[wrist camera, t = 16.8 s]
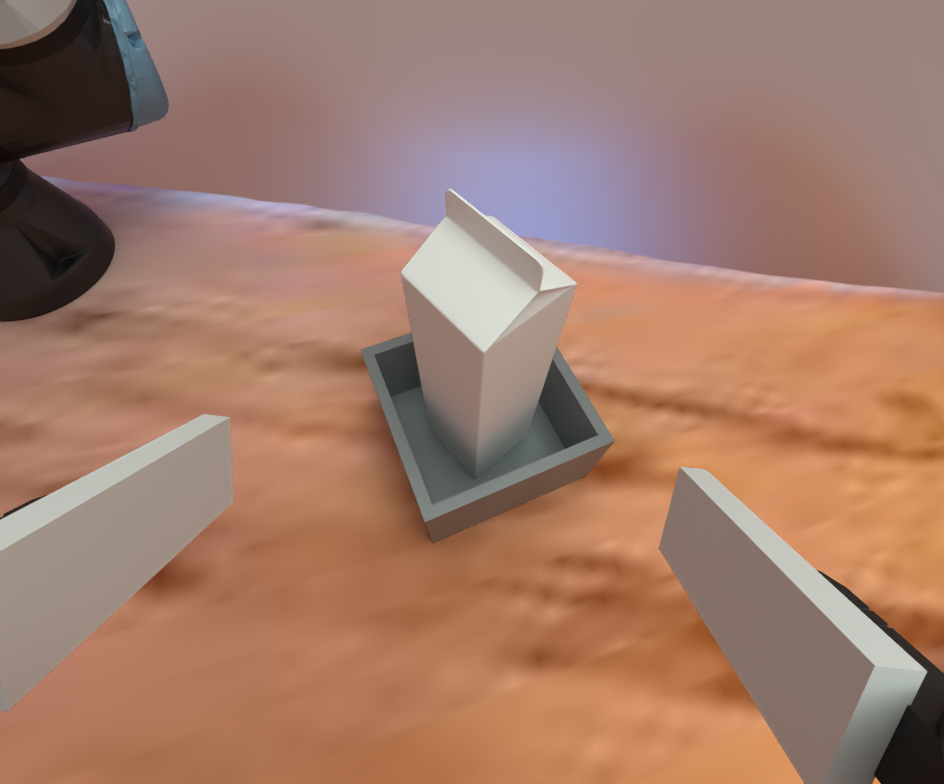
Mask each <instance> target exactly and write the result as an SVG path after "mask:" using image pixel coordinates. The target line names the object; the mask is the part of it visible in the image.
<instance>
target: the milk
mask: <svg viewBox="0 0 944 784" xmlns="http://www.w3.org/2000/svg"><path fill="white" fill-rule="evenodd" d="M445 196H446V216H445V217H444V219H443V220H442V221H441V222H440V224H439V225H438V226H437V227H436V229H435V230H434V231H433V232H432V234H431V235H430V236H429V237H428V239H427V240H426V241H425V242H424V244H423V245H422V246H421V247H420V249H419V250H418V251H417V252H416V253H415V255H414V256H413V257H412V258H411V260H410V261H409V262H408V263H407V265H406V266H405V267H404V269H403V270H402V272H401V278H402V283H403V289H404V294H405V299H406V305H407V310H408V316H409V321H410V327H411V332H412V337H413V343H414V348H415V354H416V359H417V365H418V370H419V375H420V381H421V386H422V392H423V397H424V403H425V408H426V413H427V419H428V424H429V428H430V430H431V431H432V432H433V433H434V434H435V435H436V436H437V438H438V439H439V440H440V441H441V442H442V443H443V444H444V445H445V447H446V448H447V449H448V450H449V451H450V452H451V453H452V454H453V456H454V457H455V458H456V459H457V460H458V461H459V462H460V463H461V464H462V466H463V467H464V468H465V469H466V470H467V471H468V472H469V473H470V475H471V476H472V477H473V478H474V479H476V478H477V477H479V476H480V475H481V474H482V473H483V472H484V471H486V470H487V469H488V468H489V467H490V466H492V465H493V464H494V463H495V462H496V461H497V460H499V459H500V458H501V457H502V456H503V455H504V454H506V453H507V452H508V451H509V450H510V449H511V448H513V447H514V446H515V445H516V444H517V443H518V442H520V441H521V440H522V439H523V438H524V437H526V436H527V434H528V431H529V428H530V425H531V422H532V419H533V416H534V413H535V410H536V407H537V404H538V401H539V398H540V395H541V392H542V389H543V386H544V383H545V380H546V377H547V374H548V371H549V368H550V365H551V362H552V359H553V356H554V353H555V350H556V347H557V344H558V341H559V338H560V335H561V332H562V329H563V326H564V323H565V320H566V317H567V314H568V311H569V308H570V304H571V301H572V298H573V295H574V292H575V289H576V286H577V283H576V282H575V281H574V280H572V279H571V278H570V277H569V276H567V275H566V274H565V273H564V272H562V271H561V270H560V269H559V268H557V267H556V266H555V265H554V264H552V263H551V262H550V261H548V260H547V259H546V258H545V257H543V256H542V255H541V254H540V253H538V252H537V251H536V250H535V249H533V248H532V247H531V246H530V245H528V244H527V243H526V242H525V241H523V240H522V239H521V238H520V237H518V236H517V235H516V234H514V233H513V232H512V231H511V230H509V229H508V228H507V227H506V226H504V225H503V224H502V223H501V222H499V221H498V220H497V219H495V218H494V217H493V216H485V215H483V214H482V213H481V212H480V211H478V210H477V209H476V208H475V207H473V206H472V205H471V204H470V203H468V202H467V201H466V200H465V199H463V198H462V197H461V196H459V195H458V194H457V193H456V192H455V191H453V190H452V189H448V190H446V194H445Z"/></svg>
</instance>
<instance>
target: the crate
mask: <svg viewBox="0 0 944 784" xmlns="http://www.w3.org/2000/svg"><path fill="white" fill-rule="evenodd" d="M361 352H362V355H363V358H364V360H365V363H366V366H367V368H368V371H369V374H370V377H371V379H372V382H373V385H374V387H375V390H376V393H377V395H378V398H379V401H380V403H381V406H382V409H383V411H384V414H385V417H386V420H387V422H388V425H389V428H390V430H391V433H392V436H393V438H394V441H395V444H396V446H397V449H398V452H399V454H400V457H401V460H402V463H403V465H404V468H405V471H406V473H407V476H408V479H409V481H410V484H411V487H412V489H413V492H414V495H415V497H416V500H417V503H418V506H419V508H420V511H421V514H422V516H423V519H424V522H425V524H426V527H427V529H428V532H429V534H430V537H431V539H432V542H433V543H435V542H437V541H439V540H441V539H444V538H446V537H448V536H450V535H453V534H455V533H457V532H460V531H462V530H464V529H466V528H469V527H471V526H473V525H476V524H478V523H480V522H482V521H485V520H487V519H489V518H491V517H494V516H496V515H498V514H501V513H503V512H505V511H507V510H510V509H512V508H514V507H516V506H519V505H521V504H523V503H526V502H528V501H530V500H532V499H535V498H537V497H539V496H541V495H544V494H546V493H548V492H551V491H553V490H555V489H557V488H560V487H562V486H564V485H566V484H569V483H571V482H573V481H576V480H578V479H580V478H582V477H585V476H586V475H587V474H588V473H589V472H590V470H591V469H592V468H593V467H594V465H595V464H596V463H597V462H598V461H599V459H600V458H601V457H602V456H603V455H604V453H605V452H606V451H607V450H608V449H609V447H610V446H611V445H612V444H613V442H614V441H615V440H614V439H613V437H612V436H611V434H610V432H609V431H608V429H607V427H606V426H605V424H604V423H603V421H602V419H601V418H600V416H599V415H598V413H597V411H596V410H595V408H594V406H593V405H592V403H591V402H590V400H589V398H588V397H587V395H586V393H585V392H584V390H583V389H582V387H581V385H580V384H579V382H578V380H577V379H576V377H575V376H574V374H573V372H572V371H571V369H570V367H569V366H568V364H567V363H566V361H565V359H564V358H563V356H562V355H561V353H560V351H559V350H558V348H557V347H556V350H555V353H554V356H553V359H552V362H551V365H550V368H549V371H548V374H547V377H546V380H545V383H544V386H543V389H542V392H541V395H540V398H539V401H538V404H537V407H536V410H535V413H534V416H533V419H532V422H531V425H530V428H529V431H528V434H527V436H526V437H524V438H523V439H522V440H521V441H520V442H518V443H517V444H516V445H515V446H514V447H513V448H511V449H510V450H509V451H508V452H507V453H506V454H504V455H503V456H502V457H501V458H500V459H499V460H497V461H496V462H495V463H494V464H493V465H492V466H490V467H489V468H488V469H487V470H486V471H484V472H483V473H482V474H481V475H480V476H479V477H477V478H476V479H474V478H473V477H472V476H471V475H470V473H469V472H468V471H467V470H466V469H465V468H464V467H463V466H462V464H461V463H460V462H459V461H458V460H457V459H456V458H455V457H454V456H453V454H452V453H451V452H450V451H449V450H448V449H447V448H446V447H445V445H444V444H443V443H442V442H441V441H440V440H439V439H438V438H437V436H436V435H435V434H434V433H433V432H432V431H431V430H430V428H429V424H428V419H427V413H426V408H425V403H424V397H423V392H422V386H421V381H420V375H419V370H418V365H417V359H416V354H415V348H414V343H413V337H412V333H409V334H406V335H403V336H400V337H397V338H394V339H391V340H388V341H385V342H382V343H379V344H376V345H373V346H370V347H368V348H365V349H362V350H361Z"/></svg>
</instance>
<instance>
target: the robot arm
mask: <svg viewBox="0 0 944 784" xmlns="http://www.w3.org/2000/svg"><path fill="white" fill-rule="evenodd" d="M168 107H169V104H168V98H167V95H166V92H165V89H164V87H163V84H162V81H161V79H160V76H159V74H158V72H157V69H156V67H155V65H154V62H153V60H152V58H151V56H150V53H149V51H148V49H147V47H146V45H145V43H144V41H143V40H142V37H141V34H140V32H139V29H138V27H137V25H136V22H135V20H134V17H133V15H132V13H131V11H130V9H129V7H128V4H127V2H126V0H0V321H9V320H18V319H24V318H29V317H33V316H37V315H40V314H43V313H46V312H49V311H51V310H54V309H56V308H58V307H60V306H62V305H64V304H66V303H68V302H70V301H71V300H73V299H75V298H76V297H78V296H79V295H81V294H82V293H83V292H85V291H86V290H87V289H88V288H90V287H91V286H92V285H93V284H94V283H95V282H96V281H97V280H98V279H99V278H100V277H101V275H102V274H103V273H104V271H105V270H106V269H107V267H108V265H109V263H110V261H111V259H112V256H113V252H114V238H113V235H112V233H111V231H110V229H109V228H108V227H107V226H106V225H105V224H104V222H103V221H102V220H101V219H100V218H99V217H98V216H97V215H96V214H95V213H94V212H93V211H92V210H91V209H90V208H89V207H87V206H86V205H84V204H83V203H81V202H79V201H78V200H76V199H75V198H73V197H72V196H70V195H69V194H67V193H65V192H64V191H62V190H61V189H59V188H57V187H56V186H54V185H53V184H51V183H49V182H48V181H46V180H45V179H43V178H42V177H40V176H38V175H37V174H35V173H34V172H32V171H31V170H29V169H28V168H27V167H26V166H25V165H24V164H23V163H22V162H21V161H20V160H19V159H21V158H25V157H28V156H32V155H36V154H40V153H44V152H48V151H52V150H56V149H60V148H64V147H68V146H72V145H76V144H80V143H84V142H89V141H92V140H96V139H101V138H105V137H108V136H113V135H116V134H121V133H125V132H133V131H135V130H136V129H137V128H138V127H140V126H143V125H146V124H149V123H152V122H155V121H158V120H160V119H162V118H163V117H164V116H165V115H166V114H167V111H168ZM233 502H234V498H233V476H232V455H231V434H230V417H223V416H214V415H205V414H203V415H201V416H199V417H197V418H195V419H193V420H192V421H190V422H188V423H186V424H184V425H182V426H180V427H178V428H176V429H174V430H172V431H170V432H168V433H166V434H165V435H163V436H161V437H159V438H157V439H155V440H153V441H151V442H149V443H147V444H145V445H143V446H141V447H139V448H138V449H136V450H134V451H132V452H130V453H128V454H126V455H124V456H122V457H120V458H118V459H116V460H114V461H113V462H111V463H109V464H107V465H105V466H103V467H101V468H99V469H97V470H95V471H93V472H91V473H89V474H87V475H86V476H84V477H82V478H80V479H78V480H76V481H74V482H72V483H70V484H68V485H66V486H64V487H62V488H60V489H59V490H57V491H55V492H53V493H51V494H48V495H45V496H42V497H39V498H36V499H33V500H31V501H29V502H27V503H25V504H23V505H21V506H19V507H17V508H15V509H13V510H11V511H9V512H7V513H5V514H4V515H3V517H2V518H1V517H0V711H6V712H8V711H9V710H10V709H11V708H12V707H13V706H15V705H16V704H17V703H18V702H19V701H20V700H21V699H22V698H23V697H24V696H25V695H26V694H27V693H28V692H30V691H31V690H32V689H33V688H34V687H35V686H36V685H37V684H38V683H39V682H40V681H41V680H42V679H44V678H45V677H46V676H47V675H48V674H49V673H50V672H51V671H52V670H53V669H54V668H55V667H56V666H58V665H59V664H60V663H61V662H62V661H63V660H64V659H65V658H66V657H67V656H68V655H69V654H70V653H72V652H73V651H74V650H75V649H76V648H77V647H78V646H79V645H80V644H81V643H82V642H83V641H84V640H86V639H87V638H88V637H89V636H90V635H91V634H92V633H93V632H94V631H95V630H96V629H97V628H98V627H100V626H101V625H102V624H103V623H104V622H105V621H106V620H107V619H108V618H109V617H110V616H111V615H112V614H113V613H115V612H116V611H117V610H118V609H119V608H120V607H121V606H122V605H123V604H124V603H125V602H126V601H127V600H129V599H130V598H131V597H132V596H133V595H134V594H135V593H136V592H137V591H138V590H139V589H140V588H141V587H143V586H144V585H145V584H146V583H147V582H148V581H149V580H150V579H151V578H152V577H153V576H154V575H155V574H157V573H158V572H159V571H160V570H161V569H162V568H163V567H164V566H165V565H166V564H167V563H168V562H169V561H171V560H172V559H173V558H174V557H175V556H176V555H177V554H178V553H179V552H180V551H181V550H182V549H183V548H185V547H186V546H187V545H188V544H189V543H190V542H191V541H192V540H193V539H194V538H195V537H196V536H197V535H198V534H200V533H201V532H202V531H203V530H204V529H205V528H206V527H207V526H208V525H209V524H210V523H211V522H212V521H214V520H215V519H216V518H217V517H218V516H219V515H220V514H221V513H222V512H223V511H224V510H225V509H226V508H228V507H229V506H230V505H231V504H232V503H233ZM659 550H660V551H661V553H662V554H663V556H664V558H665V559H666V561H667V563H668V564H669V566H670V567H671V569H672V571H673V572H674V574H675V575H676V577H677V579H678V580H679V582H680V584H681V585H682V587H683V588H684V590H685V592H686V593H687V595H688V596H689V598H690V600H691V601H692V603H693V604H694V606H695V608H696V609H697V611H698V613H699V614H700V616H701V617H702V619H703V621H704V622H705V624H706V625H707V627H708V629H709V630H710V632H711V634H712V635H713V637H714V638H715V640H716V642H717V643H718V645H719V646H720V648H721V650H722V651H723V653H724V655H725V656H726V658H727V659H728V661H729V663H730V664H731V666H732V667H733V669H734V671H735V672H736V674H737V675H738V677H739V679H740V680H741V682H742V684H743V685H744V687H745V688H746V690H747V692H748V693H749V695H750V696H751V698H752V700H753V701H754V703H755V705H756V706H757V708H758V709H759V711H760V713H761V714H762V716H763V717H764V719H765V721H766V722H767V724H768V726H769V727H770V729H771V730H772V732H773V734H774V735H775V737H776V738H777V740H778V742H779V743H780V745H781V746H782V748H783V750H784V751H785V753H786V755H787V756H788V758H789V759H790V761H791V763H792V764H793V766H794V767H795V769H796V771H797V772H798V774H799V776H800V777H801V779H802V780H803V782H804V784H872V782H873V780H874V778H875V776H876V778H877V779H878V780H879V782H880V783H881V784H944V673H943V672H941V671H940V670H939V669H938V668H937V667H936V666H935V665H933V664H932V663H931V662H930V661H929V660H928V659H927V658H926V657H924V656H923V655H922V654H921V653H920V652H919V651H918V650H916V649H915V648H914V647H913V646H912V645H911V644H910V643H909V642H907V641H906V640H905V639H904V638H903V637H902V636H901V635H900V634H898V633H897V632H896V631H895V630H894V629H893V628H888V626H887V623H886V622H885V621H884V620H883V619H881V618H880V617H879V616H878V615H877V614H876V613H875V612H874V611H869V607H868V606H867V605H866V604H864V603H863V602H862V601H861V600H860V599H859V598H858V597H857V596H855V595H854V594H853V593H852V592H851V591H850V590H849V589H847V588H846V587H845V586H843V585H841V584H840V583H838V582H837V581H835V580H833V579H832V578H830V577H829V576H827V575H825V574H824V573H822V572H821V571H818V570H816V569H814V568H813V567H812V566H811V565H810V564H809V563H808V562H807V561H806V560H805V559H803V558H802V557H801V556H800V555H799V554H798V553H797V552H796V551H795V550H794V549H793V548H791V547H790V546H789V545H788V544H787V543H786V542H785V541H784V540H783V539H782V538H780V537H779V536H778V535H777V534H776V533H775V532H774V531H773V530H772V529H771V528H769V527H768V526H767V525H766V524H765V523H764V522H763V521H762V520H761V519H760V518H759V517H757V516H756V515H755V514H754V513H753V512H752V511H751V510H750V509H749V508H748V507H746V506H745V505H744V504H743V503H742V502H741V501H740V500H739V499H738V498H737V497H735V496H734V495H733V494H732V493H731V492H730V491H729V490H728V489H727V488H726V487H725V486H723V485H722V484H721V483H720V482H719V481H718V480H717V479H716V478H715V477H714V476H712V475H711V474H710V473H709V472H708V471H707V470H705V469H696V468H687V467H680V468H679V472H678V476H677V480H676V483H675V487H674V491H673V495H672V499H671V503H670V507H669V511H668V515H667V518H666V522H665V526H664V530H663V534H662V538H661V542H660V546H659Z"/></svg>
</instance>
